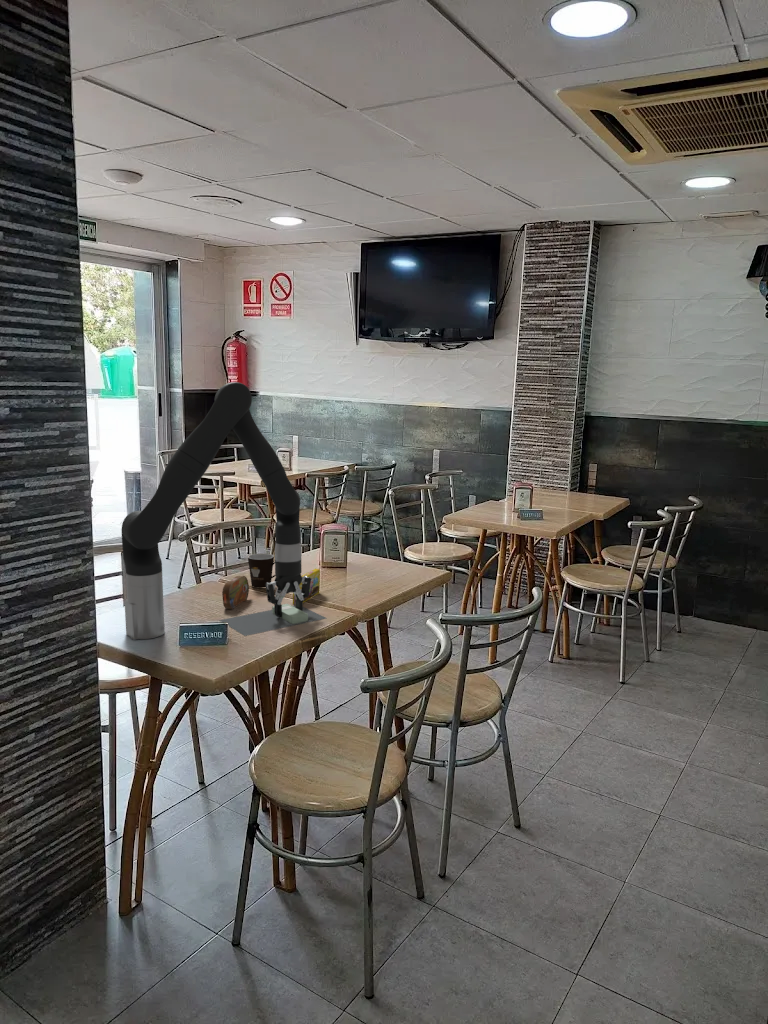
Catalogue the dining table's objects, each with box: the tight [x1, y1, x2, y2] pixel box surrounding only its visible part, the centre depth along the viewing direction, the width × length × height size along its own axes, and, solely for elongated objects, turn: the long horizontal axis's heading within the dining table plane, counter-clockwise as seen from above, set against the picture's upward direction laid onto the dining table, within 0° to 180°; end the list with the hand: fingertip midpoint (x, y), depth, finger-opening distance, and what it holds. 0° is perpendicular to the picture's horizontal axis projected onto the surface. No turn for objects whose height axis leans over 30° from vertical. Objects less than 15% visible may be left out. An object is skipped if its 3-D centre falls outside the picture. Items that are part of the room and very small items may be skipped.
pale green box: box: [271, 603, 308, 624], centre depth 210 cm, size 5×2×12 cm
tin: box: [221, 575, 250, 610], centre depth 222 cm, size 15×3×8 cm, turn 168°
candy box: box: [292, 568, 321, 606], centre depth 229 cm, size 16×2×8 cm, turn 161°
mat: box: [218, 604, 328, 637], centre depth 208 cm, size 26×16×1 cm, turn 127°
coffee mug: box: [247, 553, 276, 588], centre depth 243 cm, size 12×9×10 cm
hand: (288, 614), depth 211 cm, fingers open, 6 cm apart
